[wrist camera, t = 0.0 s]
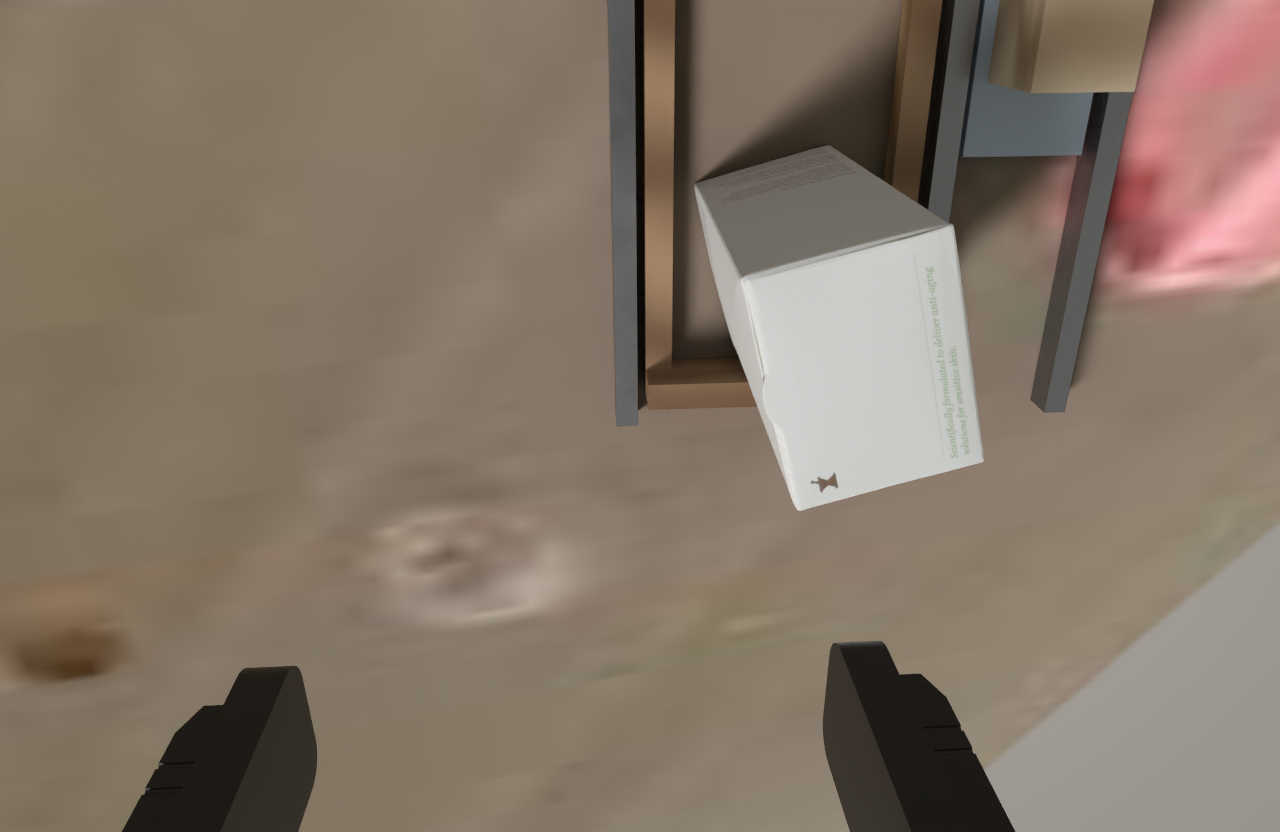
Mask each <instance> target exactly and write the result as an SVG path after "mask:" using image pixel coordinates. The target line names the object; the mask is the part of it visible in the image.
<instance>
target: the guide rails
mask: <svg viewBox="0 0 1280 832" xmlns="http://www.w3.org/2000/svg"><path fill="white" fill-rule="evenodd" d="M607 1H608V52H609V103H610V154H611V205H612V255H613V306H614V357H615V408H616V424H617V426H638V369H637V245H636V121H635V0H607ZM979 5H980V0H942V8H941V16H940V24H939V33H938V41H937V49H936V57H935V65H934V73H933V81H932V89H931V97H930V105H929V113H928V121H927V129H926V138H925V146H924V154H923V162H922V170H921V178H920V186H919V194H918V202H917V203H918V204H920V205H921V206H923V207H924V208H926V209H927V210H929V211H930V212H932V213H933V214H935V215H936V216H938V217H939V218H941V219H942V220H944V221H946V222H947V223H949V219H950V212H951V205H952V198H953V191H954V184H955V177H956V169H957V162H958V155H959V148H960V141H961V134H962V127H963V119H964V112H965V105H966V98H967V91H968V84H969V77H970V69H971V62H972V55H973V48H974V41H975V34H976V27H977V19H978V12H979ZM1132 94H1133V92H1094V93H1093V98H1092V103H1091V109H1090V114H1089V119H1088V124H1087V129H1086V134H1085V139H1084V144H1083V149H1082V154H1081V155H1078V158H1077V164H1076V169H1075V174H1074V179H1073V184H1072V189H1071V194H1070V200H1069V205H1068V210H1067V215H1066V220H1065V225H1064V230H1063V235H1062V241H1061V246H1060V251H1059V256H1058V261H1057V266H1056V271H1055V277H1054V282H1053V287H1052V292H1051V297H1050V302H1049V307H1048V312H1047V318H1046V323H1045V328H1044V333H1043V338H1042V343H1041V348H1040V354H1039V359H1038V364H1037V369H1036V374H1035V379H1034V384H1033V389H1032V395H1031V401H1032V402H1033V403H1035V404H1036V405H1037V406H1038V407H1039V408H1040V409H1041V410H1042V411H1043V412H1044V413H1047V412H1065V408H1066V403H1067V398H1068V394H1069V389H1070V384H1071V380H1072V375H1073V370H1074V366H1075V361H1076V356H1077V352H1078V347H1079V342H1080V338H1081V333H1082V328H1083V324H1084V319H1085V314H1086V310H1087V305H1088V300H1089V296H1090V291H1091V286H1092V281H1093V277H1094V272H1095V267H1096V263H1097V258H1098V253H1099V249H1100V244H1101V239H1102V235H1103V230H1104V225H1105V221H1106V216H1107V211H1108V207H1109V202H1110V197H1111V193H1112V188H1113V183H1114V179H1115V174H1116V169H1117V165H1118V160H1119V155H1120V151H1121V146H1122V141H1123V136H1124V132H1125V127H1126V122H1127V118H1128V113H1129V108H1130V104H1131V99H1132Z"/></svg>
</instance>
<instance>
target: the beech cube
mask: <svg viewBox="0 0 1280 832" xmlns="http://www.w3.org/2000/svg"><path fill="white" fill-rule="evenodd" d="M1153 4H1154V0H1000V2H999V9H998V15H997V22H996V29H995V36H994V42H993V49H992V56H991V63H990V69H989V76H988V83H991V84H995V85H999V86H1003V87H1007V88H1011V89H1016V90H1020V91H1024V92H1028V93H1083V92H1135V88H1136V83H1137V78H1138V74H1139V69H1140V64H1141V60H1142V55H1143V50H1144V46H1145V41H1146V36H1147V32H1148V27H1149V22H1150V18H1151V13H1152V8H1153Z"/></svg>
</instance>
